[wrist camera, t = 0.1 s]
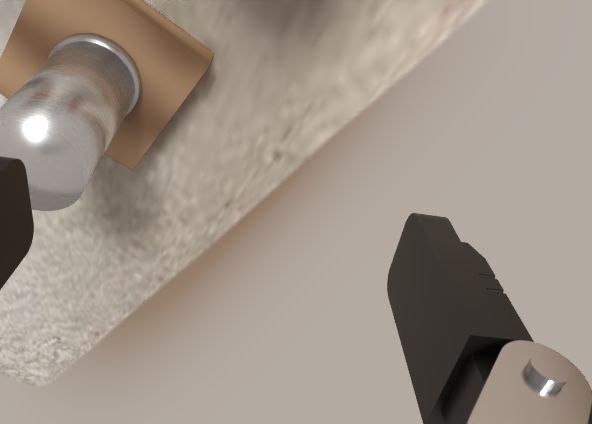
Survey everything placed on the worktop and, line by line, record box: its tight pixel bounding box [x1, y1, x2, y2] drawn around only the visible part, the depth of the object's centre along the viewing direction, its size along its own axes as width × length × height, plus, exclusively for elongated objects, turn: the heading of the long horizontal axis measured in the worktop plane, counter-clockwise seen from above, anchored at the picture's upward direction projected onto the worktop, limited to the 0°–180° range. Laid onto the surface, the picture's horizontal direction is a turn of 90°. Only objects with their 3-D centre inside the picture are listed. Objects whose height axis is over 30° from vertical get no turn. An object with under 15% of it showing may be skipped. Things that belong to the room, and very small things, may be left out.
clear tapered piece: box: [0, 33, 142, 211], centre depth 26 cm, size 5×5×10 cm
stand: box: [0, 0, 214, 170], centre depth 31 cm, size 10×10×2 cm
